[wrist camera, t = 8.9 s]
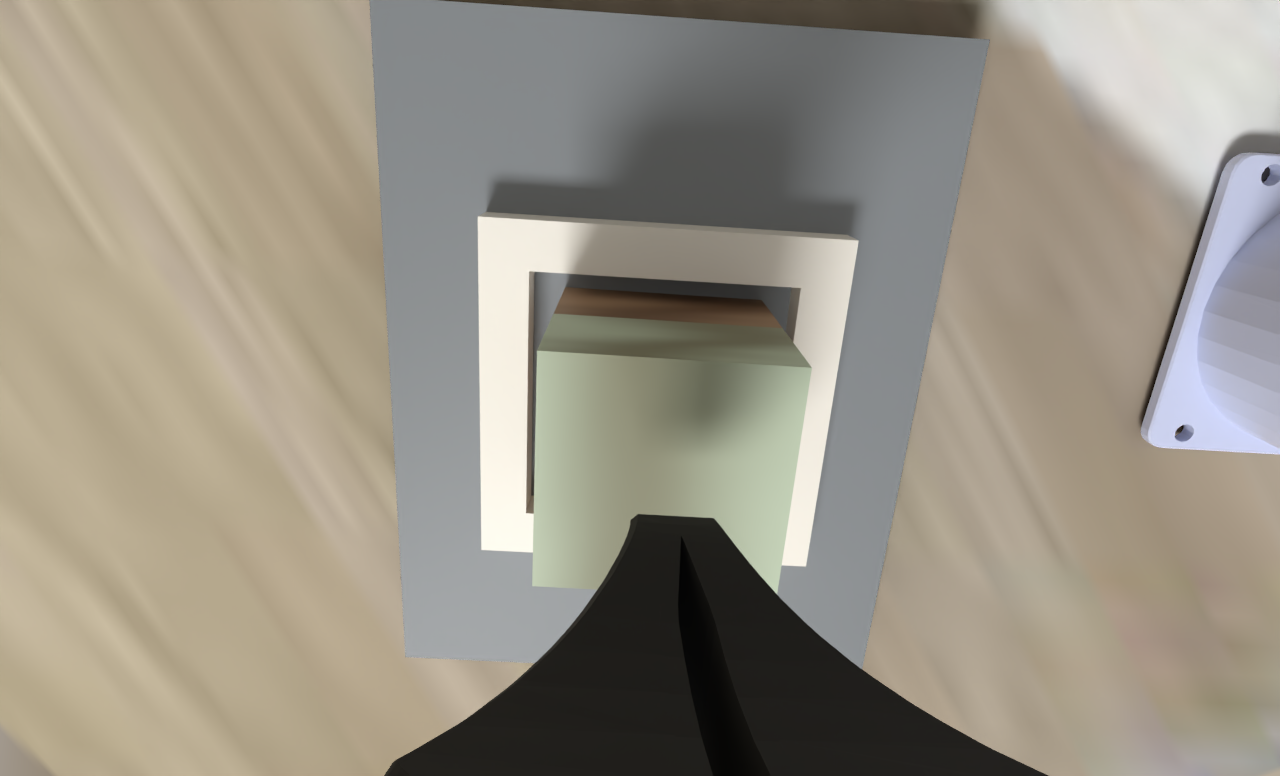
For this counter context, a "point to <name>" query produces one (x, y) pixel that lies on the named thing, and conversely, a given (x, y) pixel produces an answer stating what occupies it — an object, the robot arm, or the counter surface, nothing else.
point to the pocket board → (650, 266)
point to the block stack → (662, 426)
